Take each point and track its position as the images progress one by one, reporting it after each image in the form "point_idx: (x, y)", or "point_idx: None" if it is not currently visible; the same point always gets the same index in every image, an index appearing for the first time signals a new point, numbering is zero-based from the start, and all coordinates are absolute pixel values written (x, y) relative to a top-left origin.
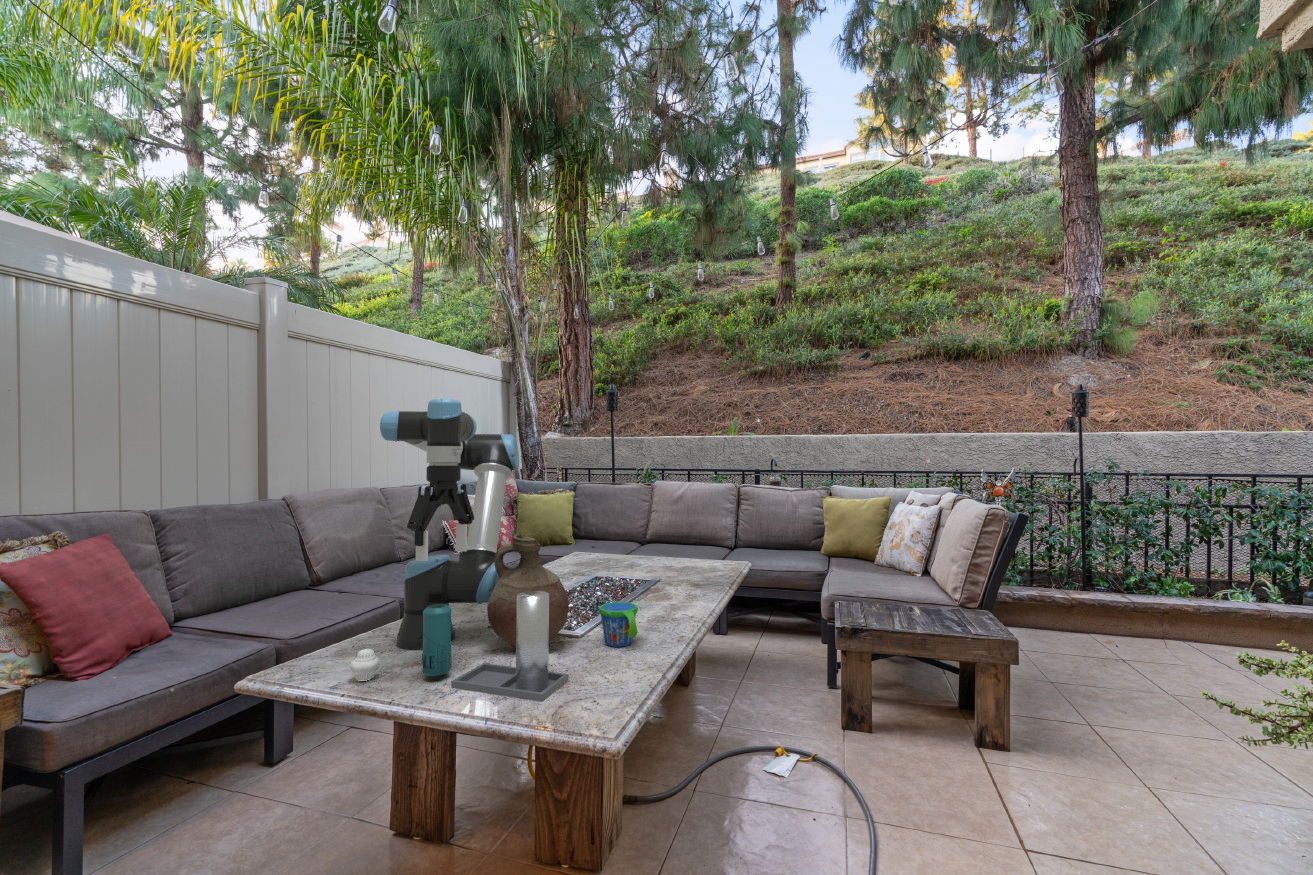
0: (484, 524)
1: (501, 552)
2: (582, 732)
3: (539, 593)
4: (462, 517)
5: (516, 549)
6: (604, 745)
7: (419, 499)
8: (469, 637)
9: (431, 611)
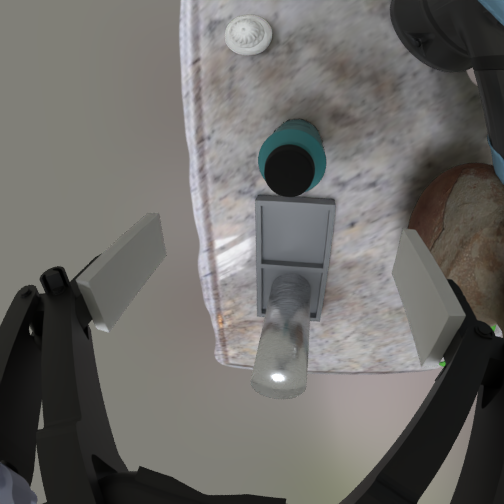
0: None
1: None
2: (227, 346)
3: (288, 389)
4: (426, 397)
5: None
6: (216, 359)
7: None
8: (473, 93)
9: (263, 167)
